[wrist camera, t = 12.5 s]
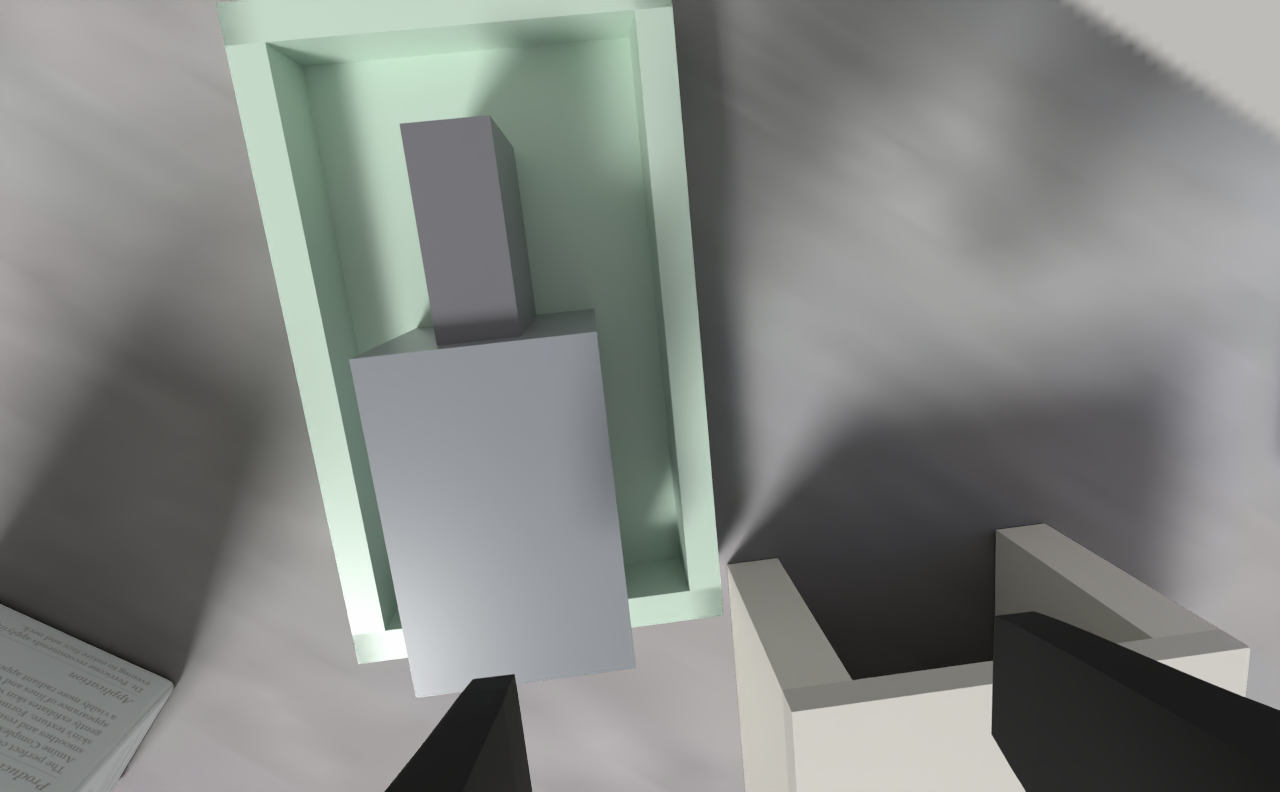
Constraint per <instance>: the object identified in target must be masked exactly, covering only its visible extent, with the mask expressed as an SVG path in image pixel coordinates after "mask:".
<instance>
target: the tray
mask: <svg viewBox="0 0 1280 792" xmlns="http://www.w3.org/2000/svg"><path fill="white" fill-rule="evenodd" d="M216 7H217V11H218V16H219V21H220V25H221V30H222V35H223V39H224V44H225V48H226V53H227V58H228V62H229V67H230V72H231V76H232V81H233V85H234V90H235V95H236V99H237V104H238V109H239V113H240V118H241V122H242V127H243V132H244V136H245V141H246V146H247V150H248V155H249V159H250V164H251V169H252V173H253V178H254V183H255V187H256V192H257V197H258V201H259V206H260V210H261V215H262V220H263V224H264V229H265V234H266V238H267V243H268V247H269V252H270V257H271V261H272V266H273V271H274V275H275V280H276V284H277V289H278V294H279V298H280V303H281V308H282V312H283V317H284V321H285V326H286V331H287V335H288V340H289V345H290V349H291V354H292V359H293V363H294V368H295V372H296V377H297V382H298V386H299V391H300V396H301V400H302V405H303V409H304V414H305V419H306V423H307V428H308V433H309V437H310V442H311V446H312V451H313V456H314V460H315V465H316V470H317V474H318V479H319V483H320V488H321V493H322V497H323V502H324V507H325V511H326V516H327V521H328V525H329V530H330V534H331V539H332V544H333V548H334V553H335V558H336V562H337V567H338V571H339V576H340V581H341V585H342V590H343V595H344V599H345V604H346V608H347V613H348V618H349V622H350V627H351V632H352V636H353V641H354V645H355V650H356V655H357V659H358V664H362V663H370V662H377V661H385V660H392V659H400V658H407V657H408V655H407V650H406V645H405V640H404V635H403V630H402V625H401V620H400V615H399V610H398V605H397V600H396V595H395V590H394V584H393V579H392V574H391V569H390V564H389V559H388V554H387V549H386V544H385V539H384V534H383V529H382V524H381V519H380V514H379V509H378V504H377V499H376V493H375V488H374V483H373V478H372V473H371V468H370V463H369V458H368V453H367V448H366V443H365V438H364V433H363V428H362V423H361V418H360V413H359V408H358V403H357V397H356V392H355V387H354V382H353V377H352V372H351V367H350V362H349V359H351V358H353V357H355V356H357V355H359V354H361V353H364V352H366V351H368V350H370V349H372V348H374V347H377V346H379V345H381V344H383V343H385V342H387V341H390V340H392V339H394V338H396V337H398V336H400V335H403V334H405V333H407V332H409V331H411V330H413V329H416V328H421V327H430V326H433V320H432V314H431V308H430V302H429V296H428V290H427V284H426V278H425V272H424V267H423V261H422V255H421V249H420V243H419V237H418V231H417V225H416V219H415V213H414V207H413V201H412V195H411V190H410V184H409V178H408V172H407V166H406V160H405V154H404V148H403V142H402V136H401V130H400V124H401V123H411V122H422V121H433V120H443V119H454V118H464V117H475V116H485V115H490V116H491V118H492V119H493V120H494V122H495V123H496V124H497V126H498V127H499V128H500V130H501V131H502V132H503V134H504V135H505V136H506V138H507V139H508V141H509V142H510V143H511V145H512V146H513V147H514V154H515V162H516V169H517V176H518V184H519V191H520V199H521V206H522V213H523V221H524V228H525V236H526V243H527V250H528V258H529V265H530V272H531V280H532V287H533V295H534V302H535V309H536V315H540V314H549V313H558V312H567V311H576V310H585V309H594V310H595V318H596V327H597V336H598V344H599V353H600V361H601V370H602V378H603V387H604V396H605V404H606V413H607V421H608V430H609V438H610V447H611V456H612V464H613V473H614V481H615V490H616V498H617V507H618V516H619V524H620V533H621V541H622V550H623V558H624V567H625V576H626V585H627V594H628V603H629V611H630V620H631V628H632V627H640V626H647V625H655V624H662V623H670V622H677V621H685V620H692V619H700V618H707V617H715V616H722V615H723V603H722V591H721V579H720V567H719V556H718V544H717V532H716V520H715V508H714V496H713V484H712V472H711V460H710V448H709V436H708V424H707V412H706V401H705V389H704V377H703V365H702V353H701V341H700V329H699V317H698V305H697V293H696V281H695V269H694V257H693V245H692V234H691V222H690V210H689V198H688V186H687V174H686V162H685V150H684V138H683V126H682V114H681V102H680V90H679V78H678V67H677V55H676V43H675V31H674V19H673V7H672V0H241V1H229V2H218V3H216Z"/></svg>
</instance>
